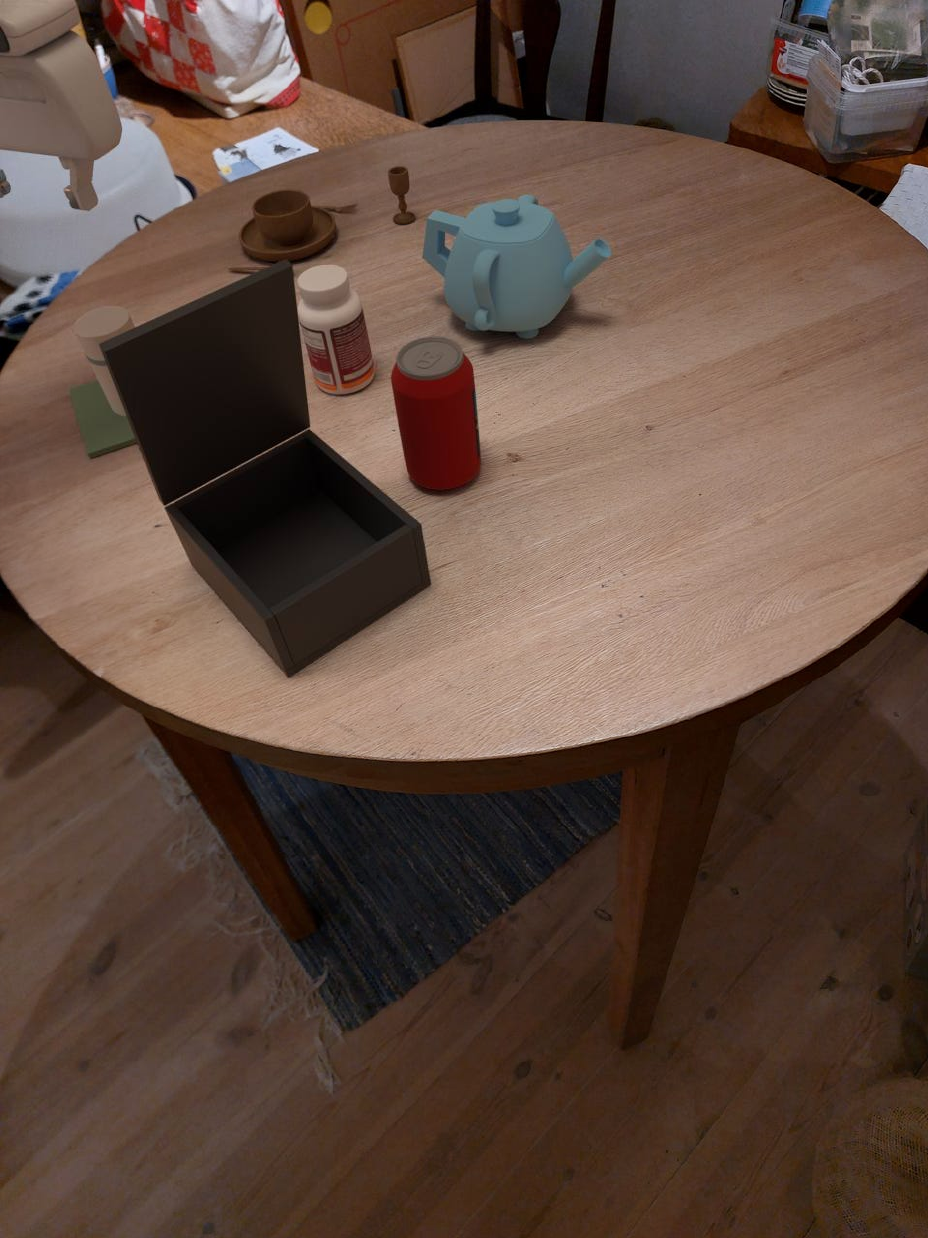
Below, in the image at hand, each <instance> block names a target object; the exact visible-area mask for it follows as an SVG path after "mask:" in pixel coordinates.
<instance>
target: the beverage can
mask: <svg viewBox="0 0 928 1238" xmlns="http://www.w3.org/2000/svg"><path fill="white" fill-rule="evenodd" d="M390 381H391V383H390V384H391V388H392V395H393V400H394V401H393V402H394V407H395V412H396V417H397V418H396V419H397V424H398V429H399V436H400V441H401V447H402V453H403V457H404V463H405V467H406V472H407V475H408V476H409V478H410V479H411V480H412V481H413V482H414V483H415V484H417V485H418V486H421V487H423V488H426V489H429V490H437V491H438V490H443V491H444V490H451V489H455V488H458V487H461V486H463V485H465V484H467V483H469V482H470V481H471V480H472V479H473V478H475V477H476V475H477V474H478V472H479V471H480V469H481V465H482V453H481V440H480V427H479V414H478V404H477V402H478V401H477V394H476V393H477V391H476V382H475V372H474V366H473V364H472V362H471V360H470V358H468V356H467V355H466V354H465V352H464V350H463V347H462V346H461V345H460V344H459V342H457V341H455V340H453V339H452V338H448V337H445V336H424V337H419V338H417V339H414V340H411V341H409V342H407V343H406V344H405V345H403V346H402V347H401V348H399V351H398V352H397V354H396V361H395V364H394V366H393V368H392V370H391V374H390Z"/></svg>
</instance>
